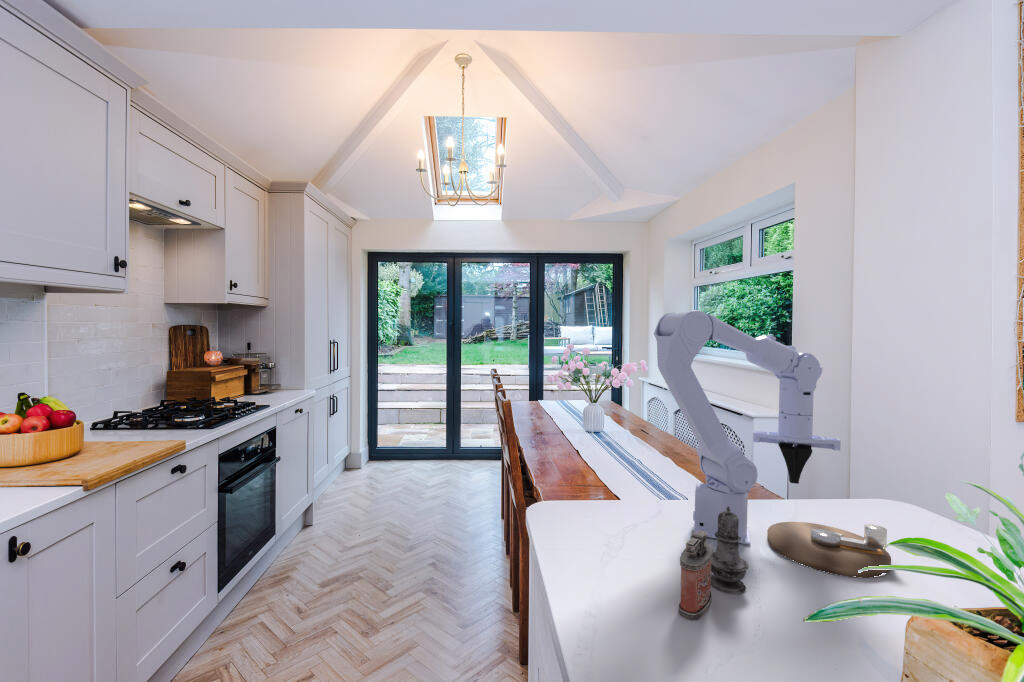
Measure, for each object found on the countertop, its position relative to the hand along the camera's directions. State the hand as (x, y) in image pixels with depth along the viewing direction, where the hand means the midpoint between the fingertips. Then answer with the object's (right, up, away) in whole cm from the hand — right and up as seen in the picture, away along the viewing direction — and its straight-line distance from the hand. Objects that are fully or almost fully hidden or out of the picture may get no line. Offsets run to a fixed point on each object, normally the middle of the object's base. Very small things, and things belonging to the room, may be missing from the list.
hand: (793, 482), depth 90 cm
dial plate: (0, -10, -9) cm, 13 cm away
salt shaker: (-23, -10, -20) cm, 32 cm away
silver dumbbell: (+3, -8, -10) cm, 13 cm away
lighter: (-30, -10, -26) cm, 41 cm away
